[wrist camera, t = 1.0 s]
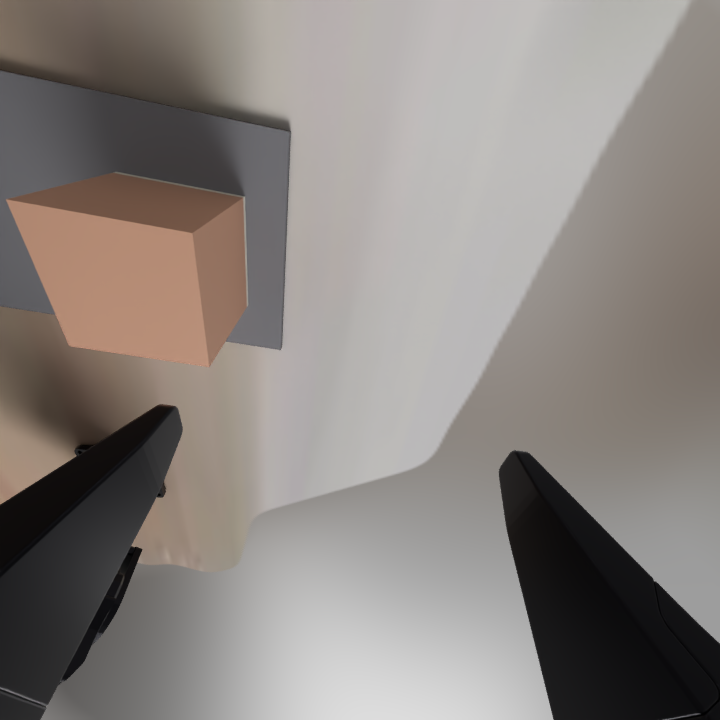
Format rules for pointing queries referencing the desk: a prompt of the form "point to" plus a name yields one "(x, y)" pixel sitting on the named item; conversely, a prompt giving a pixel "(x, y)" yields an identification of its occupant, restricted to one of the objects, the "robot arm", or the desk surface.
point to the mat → (146, 159)
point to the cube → (139, 264)
